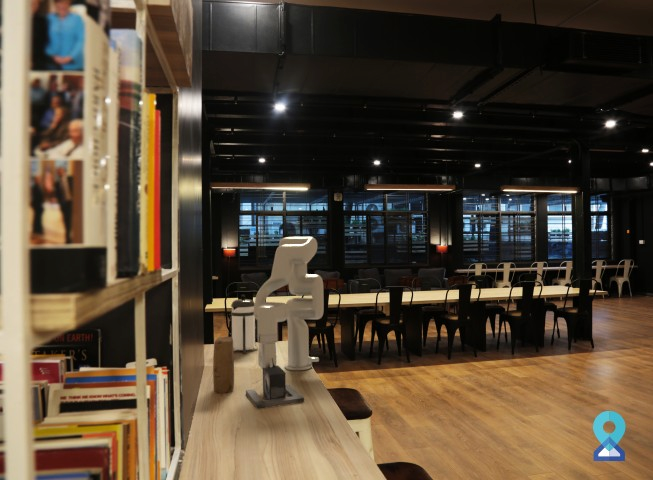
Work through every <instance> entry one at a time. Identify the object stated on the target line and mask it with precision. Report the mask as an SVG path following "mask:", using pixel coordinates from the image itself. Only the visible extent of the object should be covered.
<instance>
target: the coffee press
mask: <svg viewBox="0 0 653 480" xmlns="http://www.w3.org/2000/svg"><path fill="white" fill-rule="evenodd" d="M254 304H255V301H254V300H252V299H250V298H249V299H248V298H246V295H245V294H241V295H240V298H239V299H235V300H233V301H232V303H231V305H230V308H231V315H230V316H231V322H230V323H231V327H230V328H231V337H232V338H233V348H234V350H236V351H242V354H243V355H244V354H246V353H247V351H248V350H252V349H253V350H255V351H257V350H259V347H257V345H256V339H258V320H257V319H256V318H255V317H254ZM255 346H256V349H255Z"/></svg>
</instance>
